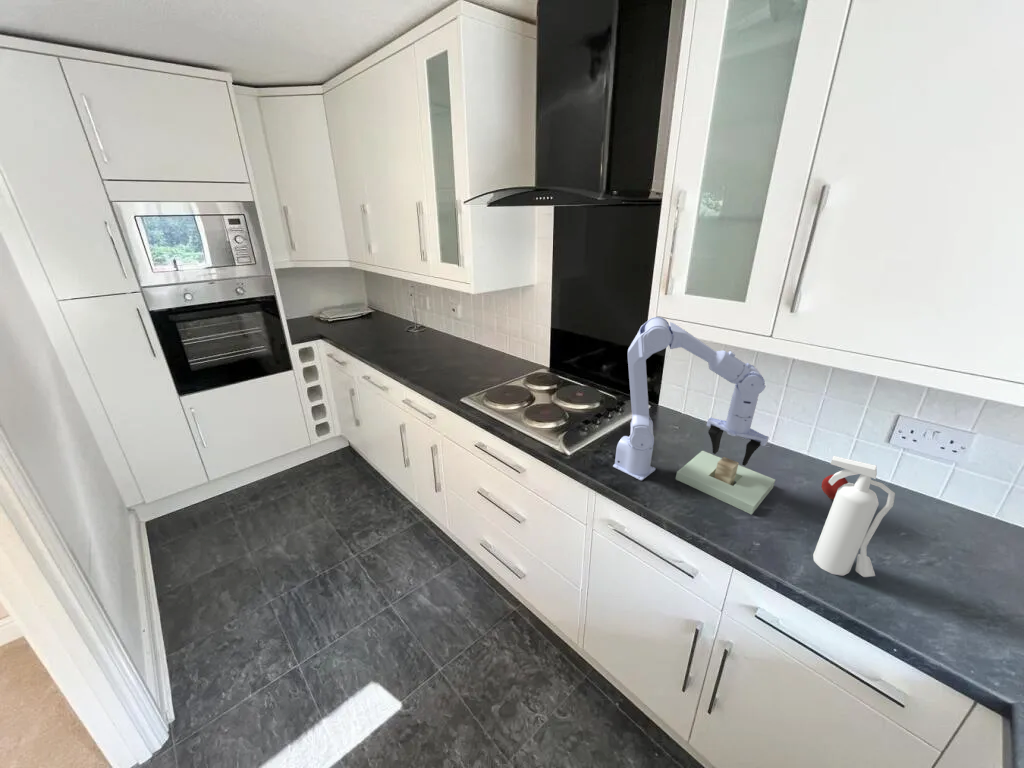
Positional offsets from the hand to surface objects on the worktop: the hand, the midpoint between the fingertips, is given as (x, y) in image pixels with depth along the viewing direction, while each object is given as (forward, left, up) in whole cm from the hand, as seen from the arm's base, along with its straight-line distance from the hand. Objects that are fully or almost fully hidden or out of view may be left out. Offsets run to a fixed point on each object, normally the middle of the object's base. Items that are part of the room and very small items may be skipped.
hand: (729, 457), depth 113 cm
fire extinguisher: (+28, -12, -8) cm, 32 cm away
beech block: (0, 0, -8) cm, 8 cm away
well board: (0, 0, -8) cm, 8 cm away
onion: (+22, +14, -8) cm, 27 cm away
